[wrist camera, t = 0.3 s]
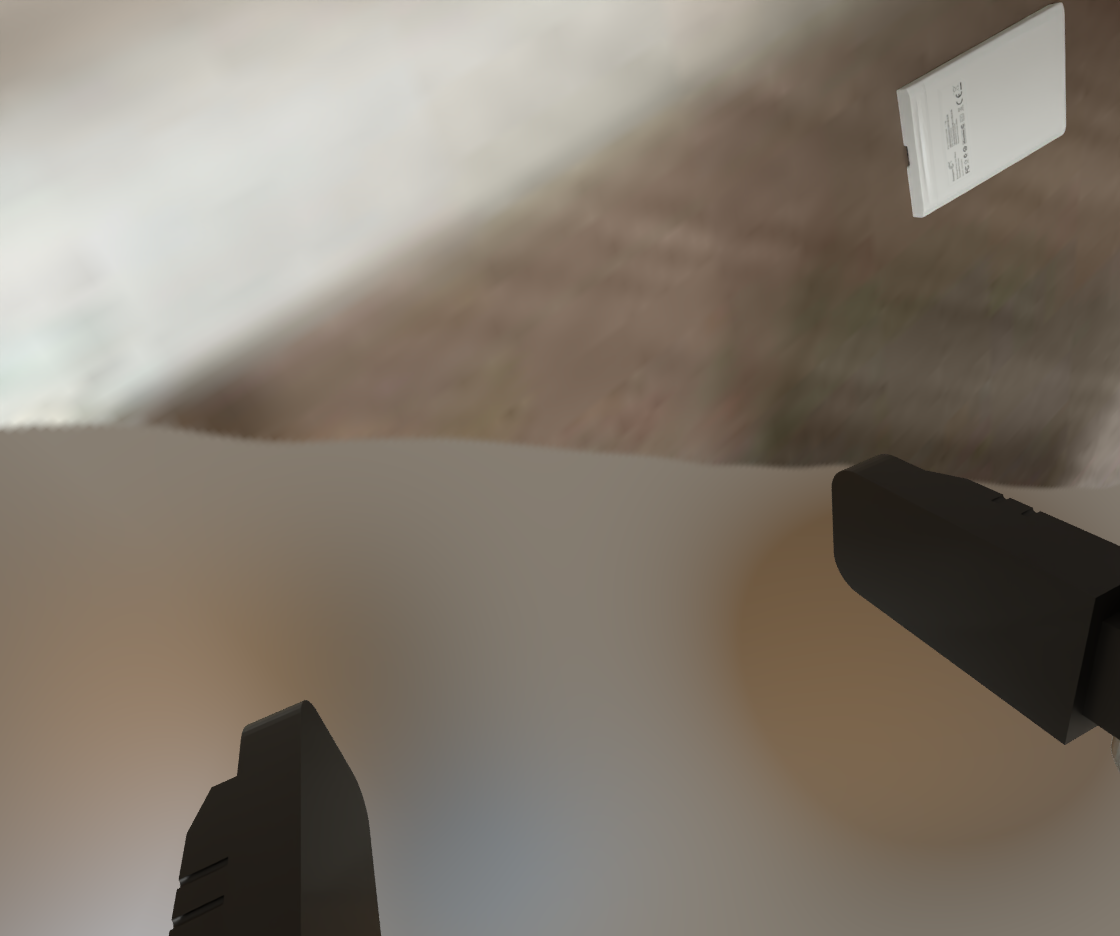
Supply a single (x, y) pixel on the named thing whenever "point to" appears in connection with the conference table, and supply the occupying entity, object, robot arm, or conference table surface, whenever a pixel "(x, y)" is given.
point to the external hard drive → (984, 109)
